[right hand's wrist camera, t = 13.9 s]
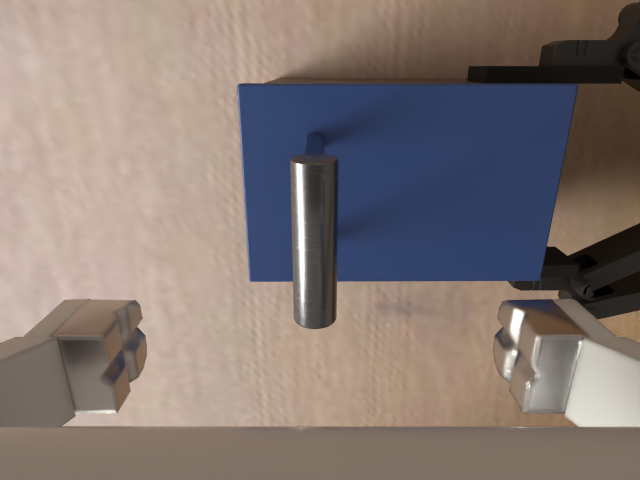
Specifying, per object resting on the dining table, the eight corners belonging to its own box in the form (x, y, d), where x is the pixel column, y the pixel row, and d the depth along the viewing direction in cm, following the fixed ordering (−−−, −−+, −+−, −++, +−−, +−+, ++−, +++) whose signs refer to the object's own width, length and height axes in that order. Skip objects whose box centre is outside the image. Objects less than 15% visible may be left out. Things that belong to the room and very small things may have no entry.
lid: (252, 273, 24) (220, 377, 16) (240, 83, 20) (192, 93, 12) (531, 272, 24) (638, 374, 16) (566, 83, 20) (725, 93, 13)
